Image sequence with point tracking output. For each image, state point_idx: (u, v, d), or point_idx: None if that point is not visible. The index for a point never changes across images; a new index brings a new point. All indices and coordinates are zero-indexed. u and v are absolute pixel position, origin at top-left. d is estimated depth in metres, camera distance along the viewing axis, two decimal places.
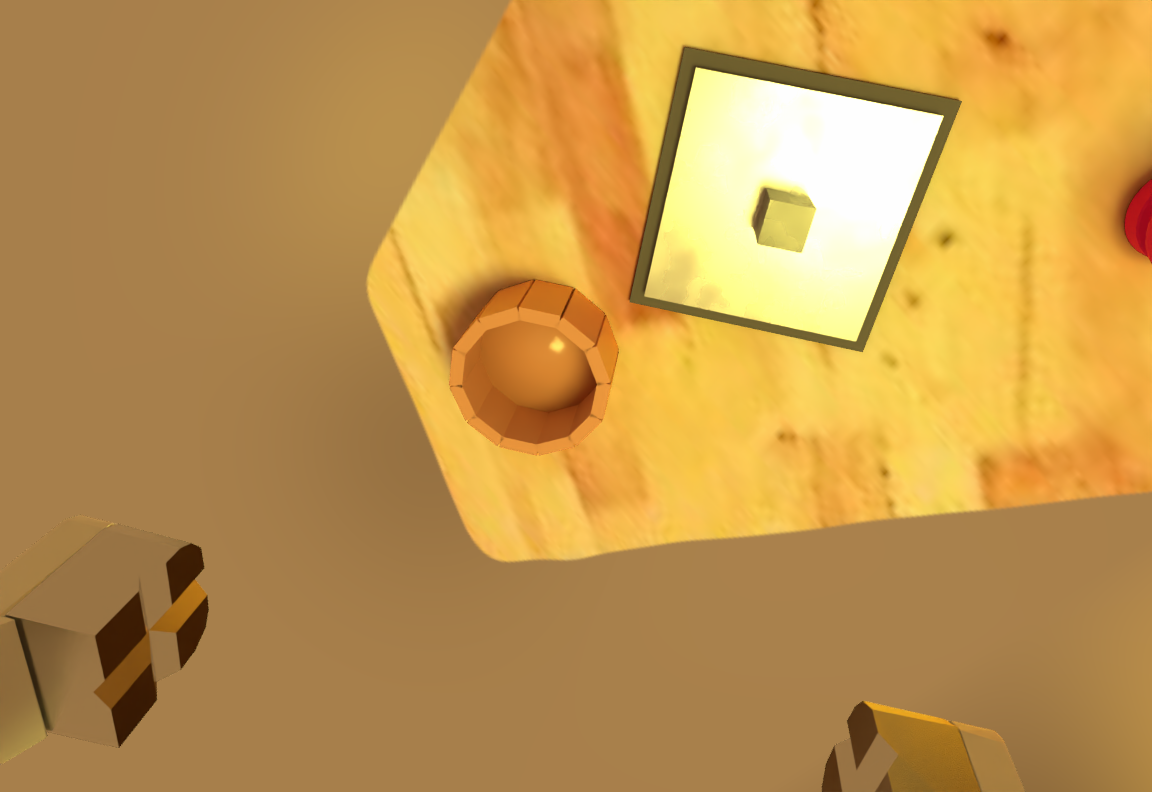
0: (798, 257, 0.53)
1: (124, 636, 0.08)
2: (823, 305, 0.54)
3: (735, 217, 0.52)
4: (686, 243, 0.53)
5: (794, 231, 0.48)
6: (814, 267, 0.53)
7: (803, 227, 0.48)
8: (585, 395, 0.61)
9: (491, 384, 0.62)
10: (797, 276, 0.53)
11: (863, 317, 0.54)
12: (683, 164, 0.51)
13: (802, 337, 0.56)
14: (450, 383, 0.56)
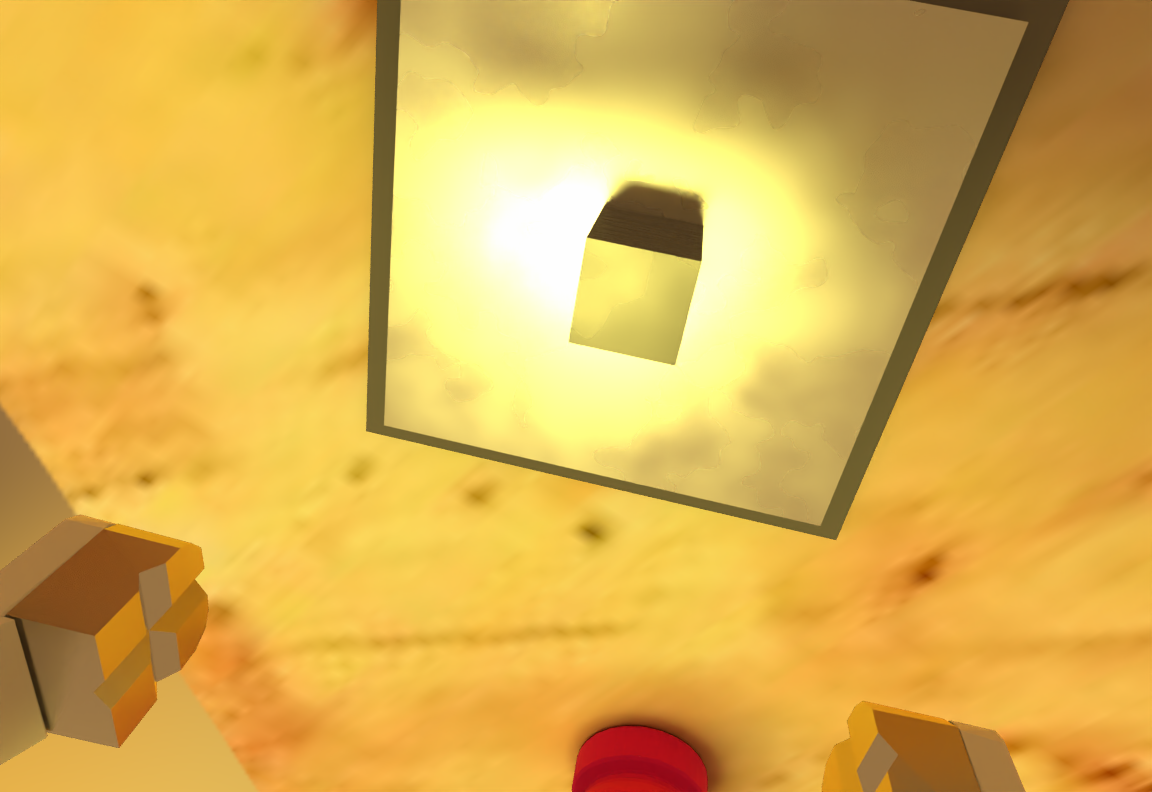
0: (546, 306, 0.24)
1: (124, 636, 0.08)
2: (448, 362, 0.25)
3: (633, 158, 0.21)
4: (563, 31, 0.20)
5: (621, 323, 0.20)
6: (527, 338, 0.24)
7: (632, 340, 0.20)
8: None
9: None
10: (504, 307, 0.24)
11: (434, 434, 0.27)
12: (776, 6, 0.19)
13: (372, 321, 0.26)
14: None
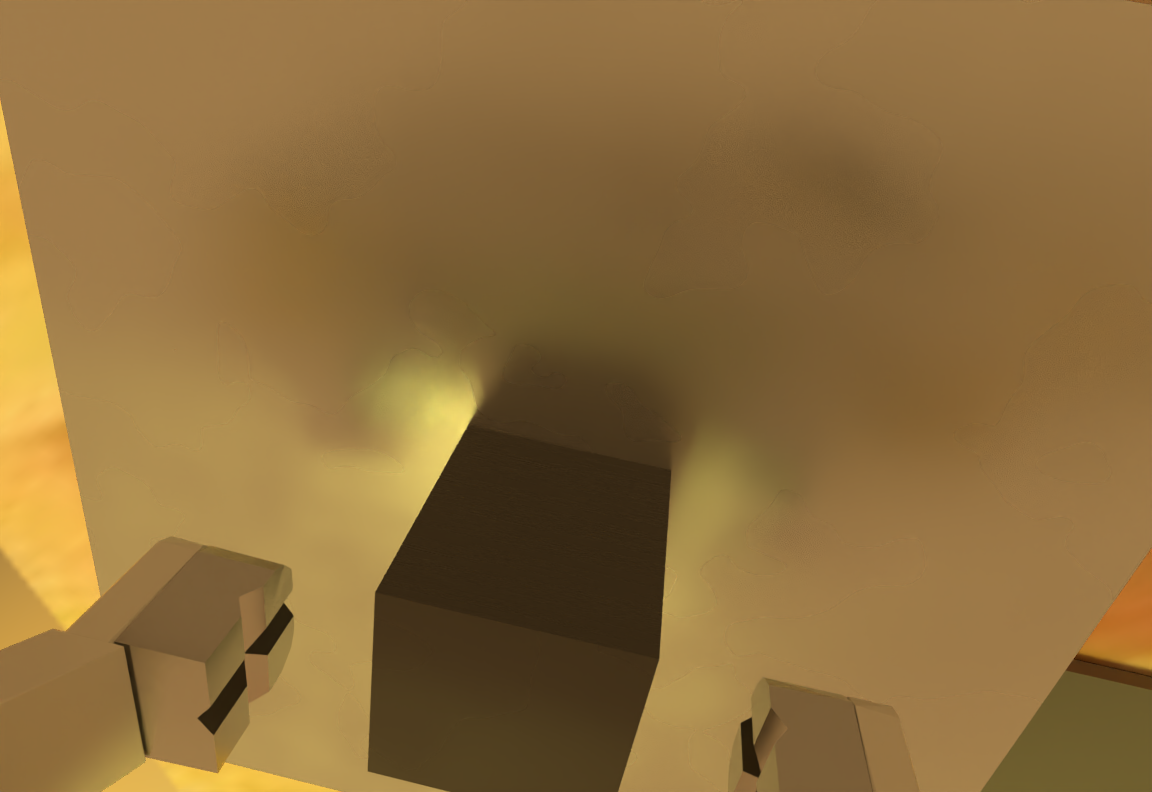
0: (377, 588, 0.13)
1: (227, 661, 0.08)
2: None
3: (520, 342, 0.10)
4: (344, 77, 0.09)
5: (479, 752, 0.09)
6: (349, 633, 0.13)
7: (506, 781, 0.09)
8: None
9: None
10: (301, 584, 0.13)
11: None
12: (837, 24, 0.08)
13: None
14: None
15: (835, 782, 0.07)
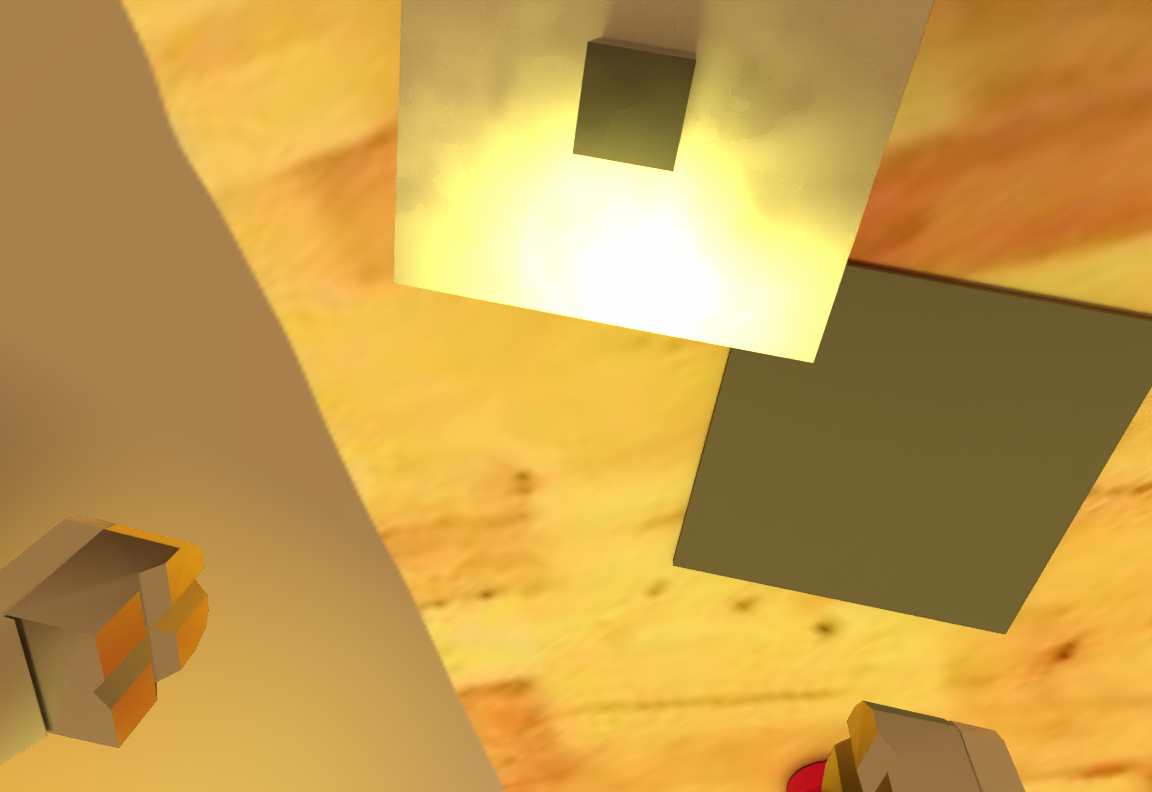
0: (548, 147, 0.25)
1: (124, 636, 0.08)
2: (454, 211, 0.27)
3: None
4: None
5: (622, 130, 0.21)
6: (530, 181, 0.26)
7: (632, 147, 0.21)
8: None
9: None
10: (508, 150, 0.25)
11: (443, 289, 0.28)
12: None
13: (693, 498, 0.38)
14: None
15: None
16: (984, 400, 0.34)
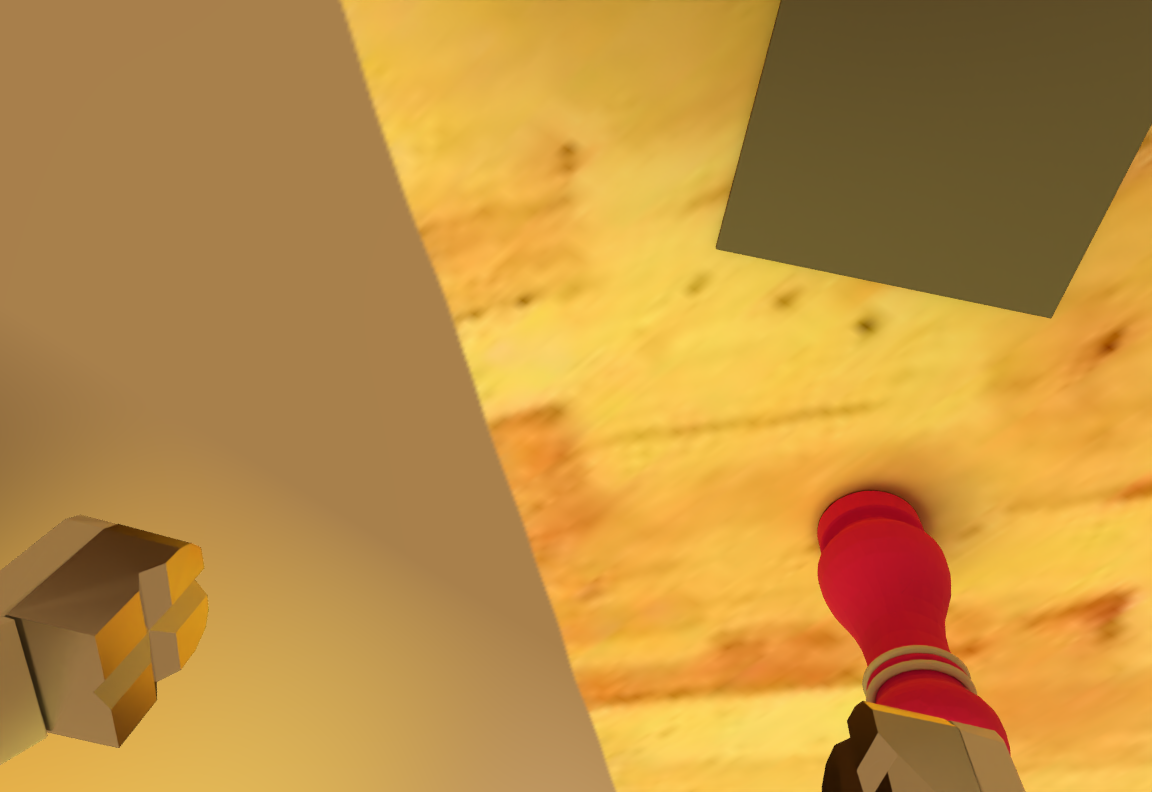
0: None
1: (124, 636, 0.08)
2: None
3: None
4: None
5: None
6: None
7: None
8: None
9: None
10: None
11: None
12: None
13: (741, 163, 0.38)
14: None
15: None
16: (1044, 23, 0.33)
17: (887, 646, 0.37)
